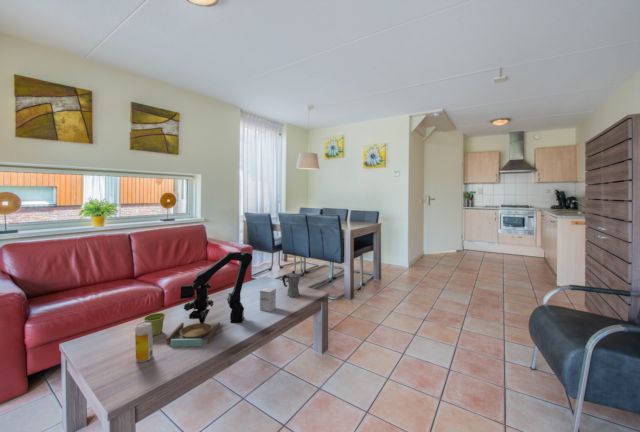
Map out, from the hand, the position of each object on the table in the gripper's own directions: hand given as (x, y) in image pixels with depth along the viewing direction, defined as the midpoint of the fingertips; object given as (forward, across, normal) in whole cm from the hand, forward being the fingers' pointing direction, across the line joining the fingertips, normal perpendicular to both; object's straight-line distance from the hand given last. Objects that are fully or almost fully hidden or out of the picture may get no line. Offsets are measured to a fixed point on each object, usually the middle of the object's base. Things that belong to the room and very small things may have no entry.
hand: (202, 324), depth 147 cm
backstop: (+1, +19, 0) cm, 19 cm away
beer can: (+1, +30, -13) cm, 32 cm away
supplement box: (+1, -24, +32) cm, 40 cm away
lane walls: (+1, +10, 0) cm, 10 cm away
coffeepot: (+2, -48, +46) cm, 66 cm away
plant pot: (+1, +7, -21) cm, 22 cm away
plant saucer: (+1, +8, 0) cm, 8 cm away
